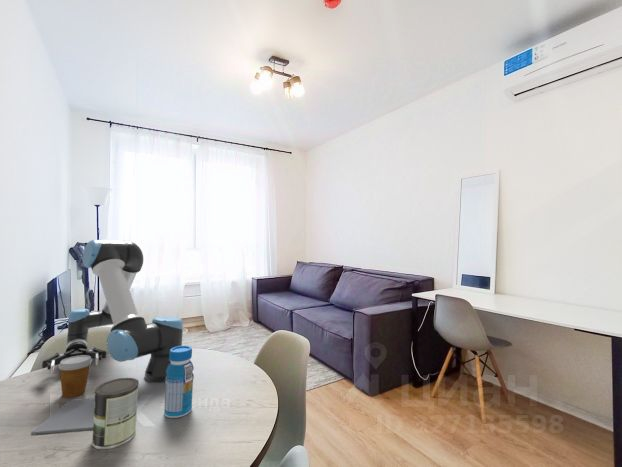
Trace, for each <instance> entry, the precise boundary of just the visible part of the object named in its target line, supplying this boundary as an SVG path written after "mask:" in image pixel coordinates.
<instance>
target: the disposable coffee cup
mask: <svg viewBox="0 0 622 467" xmlns="http://www.w3.org/2000/svg"><path fill="white" fill-rule="evenodd" d="M92 362H93V359H91V357H90V356H87V355H80V356H73V357H69V358H66V359H64V360H62V361H61V362H60V364H58V369H59V374H60V385H61V397H62V398H63V399H72V398H76V397H79V396H81V395H84V394H85V391H86V387H87V384H88V383H87V382H88V377H89V372H90V368H91V364H92Z"/></svg>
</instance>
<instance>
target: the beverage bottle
mask: <svg viewBox="0 0 622 467" xmlns="http://www.w3.org/2000/svg"><path fill="white" fill-rule="evenodd" d="M192 357H193V348H192V346H189V345H182V346H177V347H174V348H172V349H170V353H169V360H170V361H171V363H170V364H169V366H168V367H167V370H166V374H167V377H166V379H165V381H164V383H165V392H164V412H163V413H164V415H165V417H167V418H170V419H177V418H178V419H179V418H181V417H184V416H186V415H188V414H189V413H191V411H192V410H193V388H194V387H193V385H194V377H195V376H194V373H193V372H194V367H195V366H194V364H193V362H192V360H191V359H192Z"/></svg>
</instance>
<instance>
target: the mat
mask: <svg viewBox="0 0 622 467" xmlns="http://www.w3.org/2000/svg"><path fill="white" fill-rule="evenodd" d="M94 407H95V397H93V398H83V399H82V398H81V399H70V400H68V401H67V402H66V403H65V404H63V406H61V407H59V408H58V410H56V411H55V412H54V413H53V414H51V415H49V417H47V419H46V420H45V421H43V422H42V423H41V424H39V426H37V427H35V429H33V431H32V432H31V436H32V435H41V434H43V435H44V434H53V433H54V434H55V433H66V432H77V431H88V430H93V425H94Z"/></svg>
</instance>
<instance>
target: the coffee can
mask: <svg viewBox="0 0 622 467" xmlns="http://www.w3.org/2000/svg"><path fill="white" fill-rule="evenodd" d="M139 383H140V381H139V380H138V379H137V378H135V377H120V378H115V379H111V380H108V381H105V382H103V383H101V384H99V385H98V386H96V387H95V388H94V398H95V407H94V425H93V429H92V441H91V446H92V447H93V448H95V449H97V450H111V449H115V448H118V447H120V446H122V445H125V444H127V443H128V442H130V441H131V440H132V439H133V438H134V437H135V435H136V433H137V430H136V428H137V409H138V395H139V394H138V392H139V385H140V384H139Z"/></svg>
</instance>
